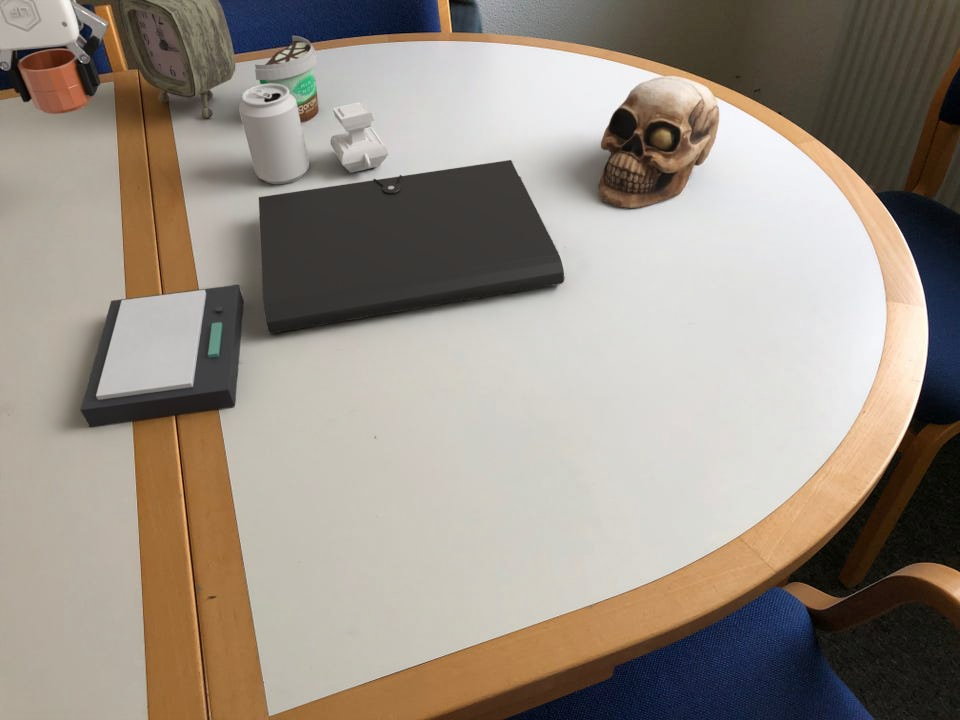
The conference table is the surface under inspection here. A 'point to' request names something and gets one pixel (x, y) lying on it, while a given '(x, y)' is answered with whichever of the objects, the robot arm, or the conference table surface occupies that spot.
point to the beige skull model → (657, 141)
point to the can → (274, 133)
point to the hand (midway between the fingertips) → (61, 93)
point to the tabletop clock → (180, 45)
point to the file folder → (401, 245)
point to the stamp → (357, 139)
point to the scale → (166, 356)
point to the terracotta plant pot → (53, 81)
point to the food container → (294, 75)
